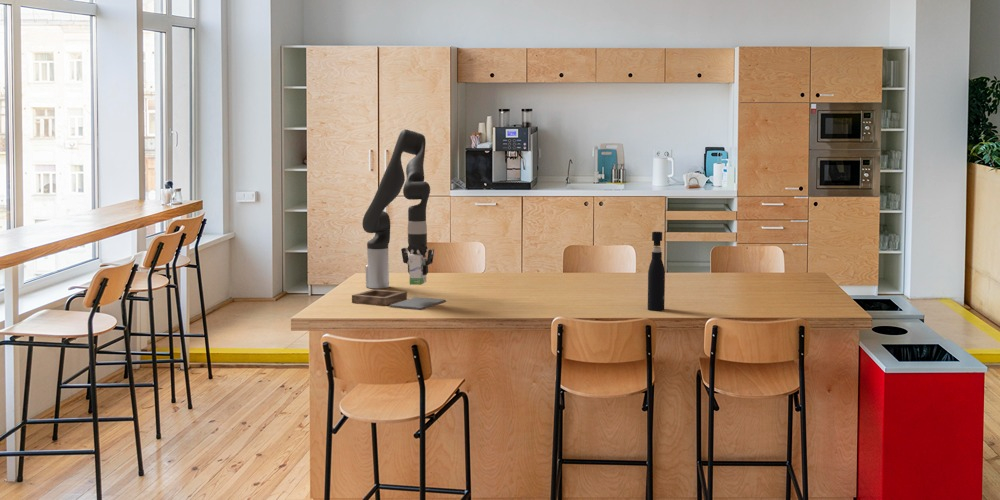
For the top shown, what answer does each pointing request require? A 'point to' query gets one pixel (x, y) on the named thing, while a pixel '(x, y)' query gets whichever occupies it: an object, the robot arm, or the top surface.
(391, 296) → the frame
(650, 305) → the wine bottle
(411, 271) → the ink box
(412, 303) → the rubber mat
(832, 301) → the top surface
